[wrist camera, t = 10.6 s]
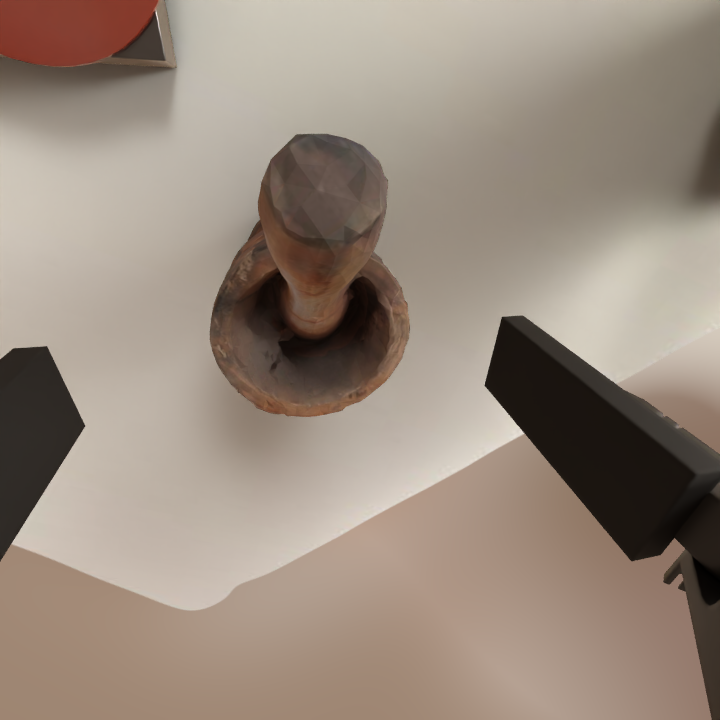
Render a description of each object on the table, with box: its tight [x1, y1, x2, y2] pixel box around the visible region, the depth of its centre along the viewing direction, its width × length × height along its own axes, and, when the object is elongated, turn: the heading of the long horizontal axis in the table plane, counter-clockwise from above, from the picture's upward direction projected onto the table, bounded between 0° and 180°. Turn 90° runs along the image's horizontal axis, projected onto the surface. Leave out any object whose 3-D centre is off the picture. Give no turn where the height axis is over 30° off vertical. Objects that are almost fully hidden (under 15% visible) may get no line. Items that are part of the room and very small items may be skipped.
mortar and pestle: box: [210, 134, 410, 417], centre depth 18 cm, size 12×9×20 cm
